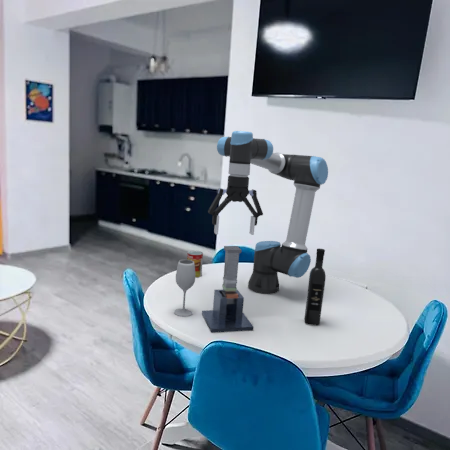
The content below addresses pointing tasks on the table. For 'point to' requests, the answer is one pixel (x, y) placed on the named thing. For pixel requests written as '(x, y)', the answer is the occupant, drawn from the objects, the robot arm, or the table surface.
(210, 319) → the stand
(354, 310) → the table surface
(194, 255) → the canned food
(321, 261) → the wine bottle
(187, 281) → the wineglass
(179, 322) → the table surface
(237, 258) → the column
